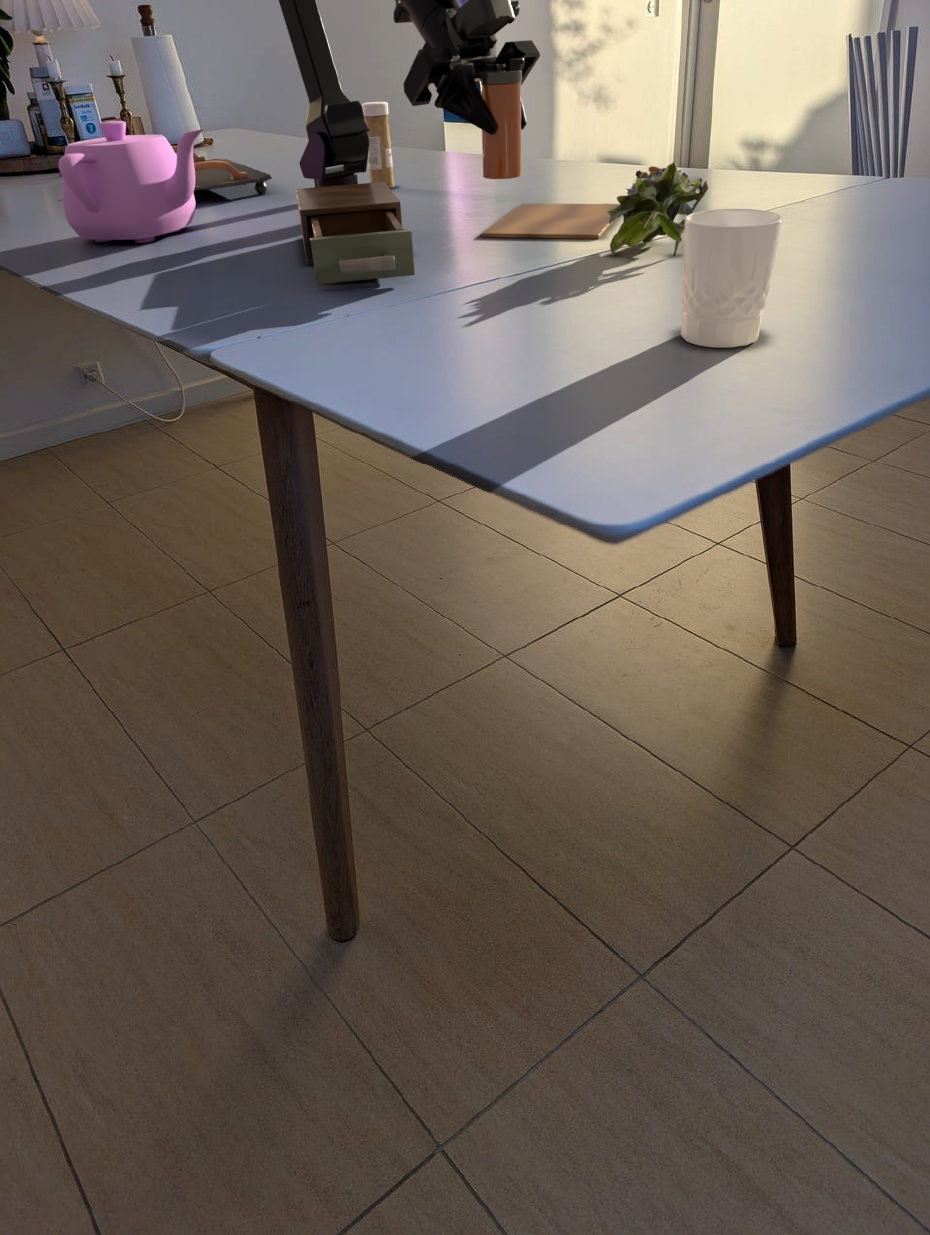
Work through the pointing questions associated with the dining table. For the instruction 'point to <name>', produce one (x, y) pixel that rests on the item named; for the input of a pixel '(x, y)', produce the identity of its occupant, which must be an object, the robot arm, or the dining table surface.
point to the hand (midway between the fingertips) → (509, 129)
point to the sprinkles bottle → (379, 143)
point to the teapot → (128, 185)
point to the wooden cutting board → (553, 221)
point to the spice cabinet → (342, 204)
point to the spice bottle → (502, 123)
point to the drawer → (360, 246)
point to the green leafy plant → (655, 206)
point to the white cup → (727, 274)
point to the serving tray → (225, 174)
